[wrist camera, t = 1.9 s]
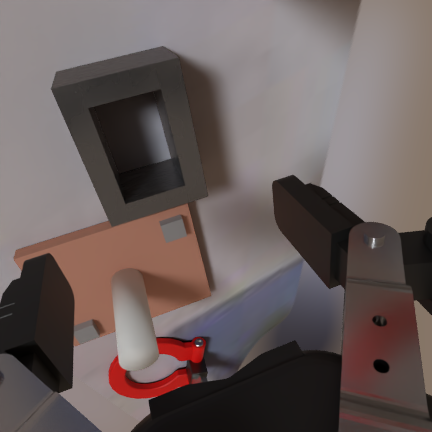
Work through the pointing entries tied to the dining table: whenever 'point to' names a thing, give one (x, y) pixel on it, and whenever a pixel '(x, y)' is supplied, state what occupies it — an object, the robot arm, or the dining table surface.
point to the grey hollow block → (98, 147)
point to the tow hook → (179, 378)
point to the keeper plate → (123, 251)
